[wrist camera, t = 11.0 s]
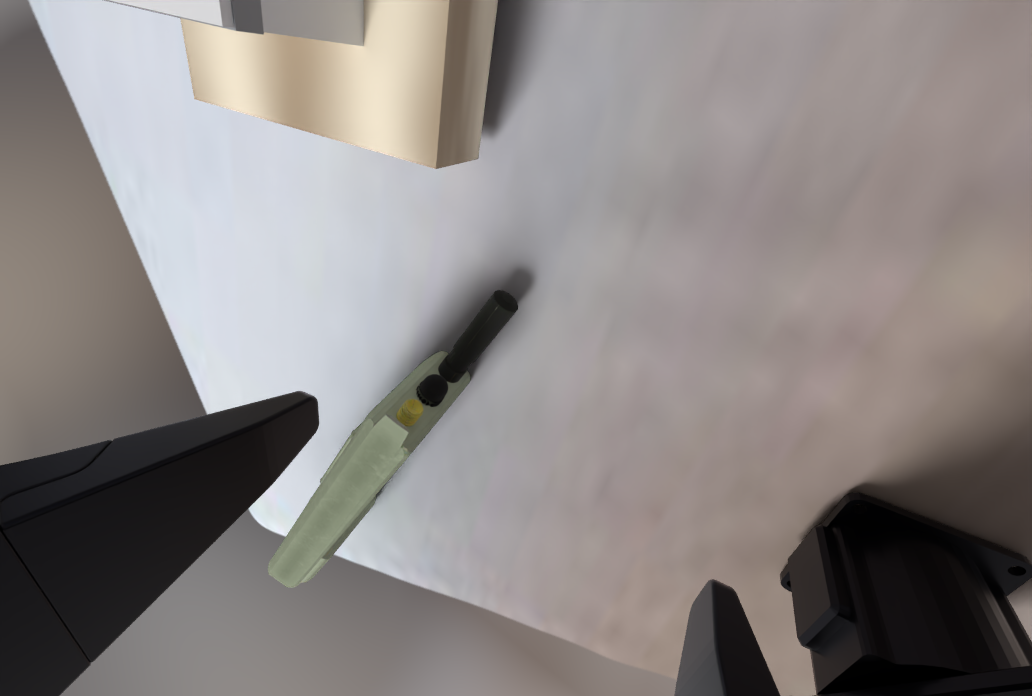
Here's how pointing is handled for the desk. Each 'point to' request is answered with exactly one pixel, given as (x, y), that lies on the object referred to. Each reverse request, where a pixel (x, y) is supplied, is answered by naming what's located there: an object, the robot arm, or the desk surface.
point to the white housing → (270, 16)
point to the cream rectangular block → (362, 78)
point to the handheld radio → (383, 448)
